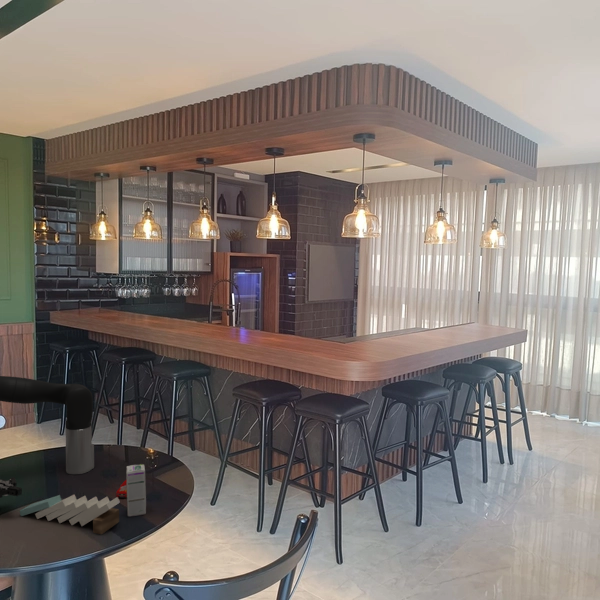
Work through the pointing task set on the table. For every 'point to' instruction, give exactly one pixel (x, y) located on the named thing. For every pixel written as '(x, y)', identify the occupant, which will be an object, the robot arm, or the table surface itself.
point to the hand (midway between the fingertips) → (19, 492)
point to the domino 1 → (40, 505)
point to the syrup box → (136, 490)
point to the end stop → (105, 521)
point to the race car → (122, 490)
